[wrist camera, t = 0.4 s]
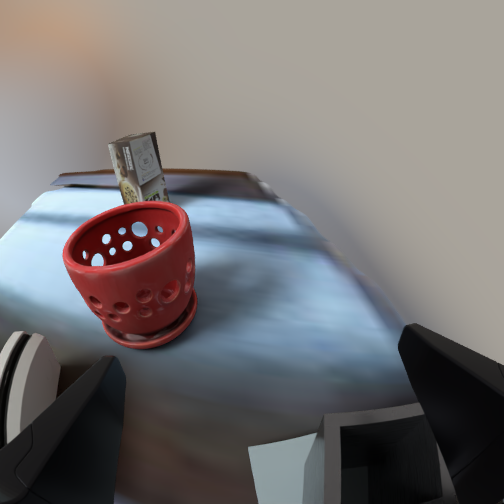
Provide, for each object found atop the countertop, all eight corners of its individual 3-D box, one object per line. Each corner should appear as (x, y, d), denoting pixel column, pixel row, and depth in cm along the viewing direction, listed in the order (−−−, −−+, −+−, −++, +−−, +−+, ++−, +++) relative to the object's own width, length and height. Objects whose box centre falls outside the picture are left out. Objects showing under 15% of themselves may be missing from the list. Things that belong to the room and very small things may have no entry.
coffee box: (172, 206, 57) (156, 131, 48) (148, 219, 52) (129, 140, 43) (147, 200, 61) (131, 133, 52) (125, 212, 57) (106, 142, 48)
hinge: (32, 367, 24) (6, 308, 19) (64, 372, 25) (43, 313, 21) (18, 492, 10) (-35, 460, 6) (59, 503, 12) (13, 481, 7)
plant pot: (118, 380, 24) (57, 291, 17) (100, 304, 33) (63, 226, 26) (230, 329, 29) (210, 229, 22) (185, 268, 38) (165, 187, 32)
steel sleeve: (376, 518, 10) (456, 504, 4) (300, 526, 11) (321, 536, 5) (374, 457, 15) (439, 397, 9) (304, 464, 15) (324, 413, 9)
